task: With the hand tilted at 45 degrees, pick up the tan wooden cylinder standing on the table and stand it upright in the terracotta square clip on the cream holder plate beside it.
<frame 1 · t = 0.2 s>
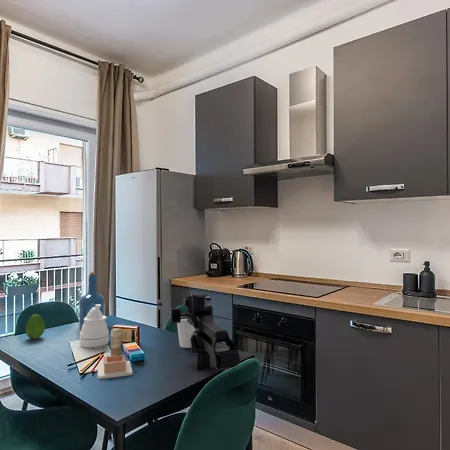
hand: (186, 310, 166), 17 cm above the table, tool horizontal, fingers open, 9 cm apart
wine bottle: (92, 327, 197), on the table
wick holder: (114, 370, 137), on the table
honey pot: (94, 343, 170), on the table
foam cup: (186, 346, 167), on the table
fruit: (35, 339, 176), on the table
tan wooden cylinder: (115, 362, 146), on the table
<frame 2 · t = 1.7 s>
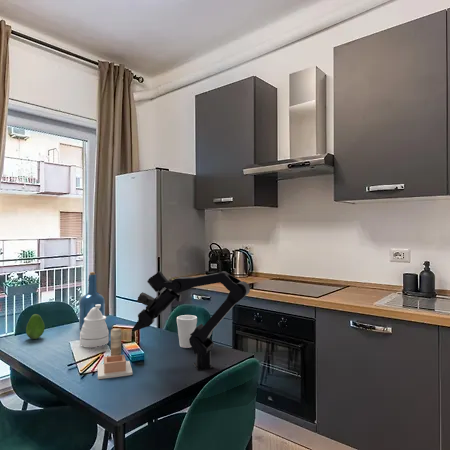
hand: (135, 327, 147), 14 cm above the table, tool tilted 45°, fingers open, 9 cm apart
nothing on the table moved.
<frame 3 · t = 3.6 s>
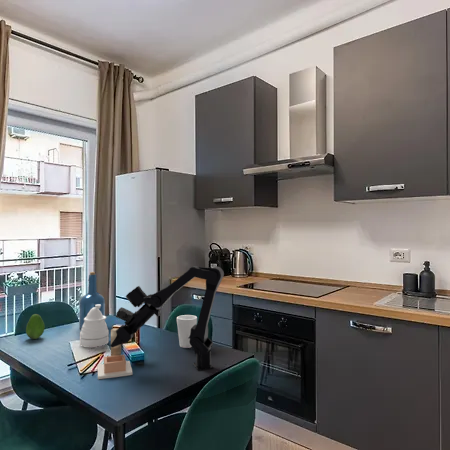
hand: (114, 342, 146), 8 cm above the table, tool tilted 45°, fingers open, 9 cm apart
nothing on the table moved.
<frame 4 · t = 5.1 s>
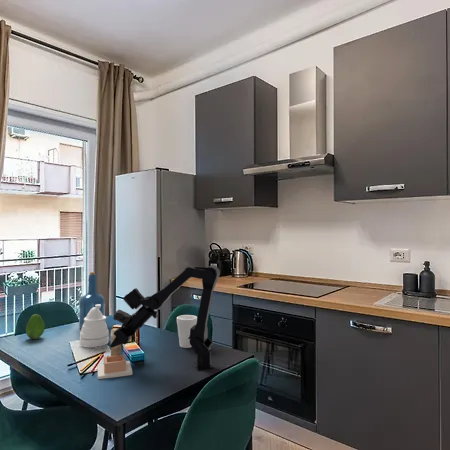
hand: (112, 345, 146), 7 cm above the table, tool tilted 45°, fingers closed on tan wooden cylinder, 4 cm apart
tan wooden cylinder: (115, 362, 146), on the table, touching gripper
everything else where it was.
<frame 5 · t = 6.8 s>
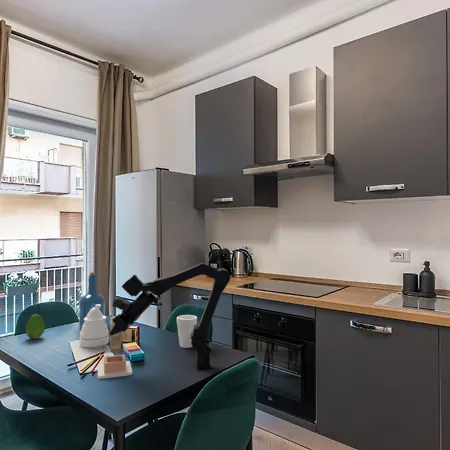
hand: (111, 333, 140), 13 cm above the table, tool tilted 45°, fingers closed on tan wooden cylinder, 4 cm apart
tan wooden cylinder: (115, 351, 140), point 6 cm above the table, touching gripper
everything else where it was.
when the fingers open (8 cm above the table, at t = 8.9 s): tan wooden cylinder stays where it is, resting on wick holder.
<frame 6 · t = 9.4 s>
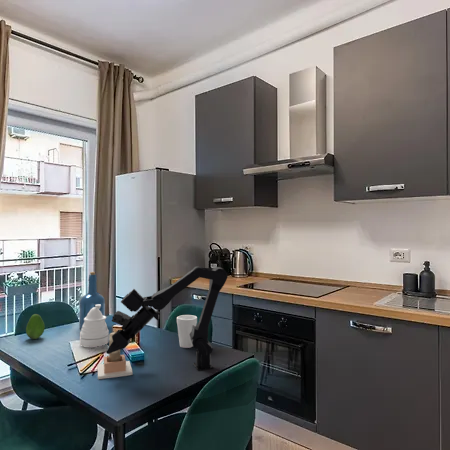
hand: (111, 348, 137), 8 cm above the table, tool tilted 45°, fingers open, 9 cm apart
tan wooden cylinder: (114, 368, 137), point 1 cm above the table, touching wick holder
everything else where it was.
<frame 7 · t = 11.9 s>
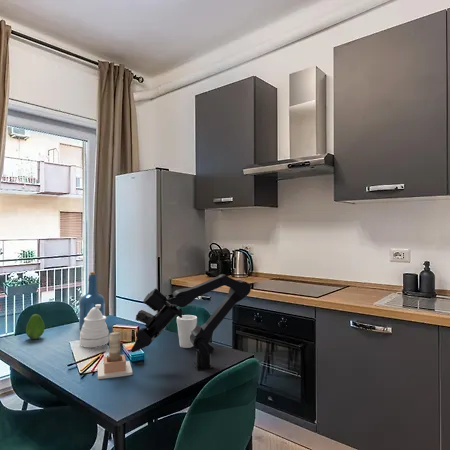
hand: (135, 347, 138), 9 cm above the table, tool tilted 45°, fingers open, 9 cm apart
nothing on the table moved.
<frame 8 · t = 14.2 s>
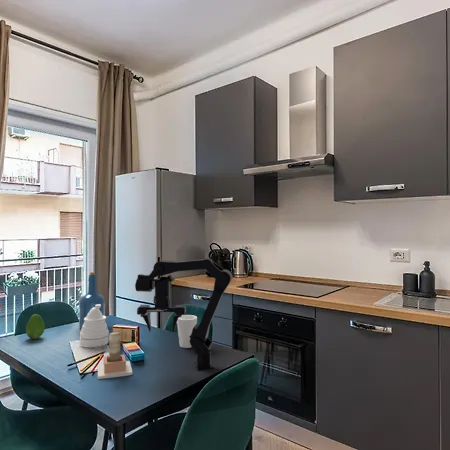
hand: (161, 331, 144), 13 cm above the table, tool pointing down, fingers open, 9 cm apart
nothing on the table moved.
at the end: tan wooden cylinder 0.0 cm off-centre on the wick holder, point 1.0 cm above the wick holder's base; tan wooden cylinder tilted 0°; the gripper is holding nothing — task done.
